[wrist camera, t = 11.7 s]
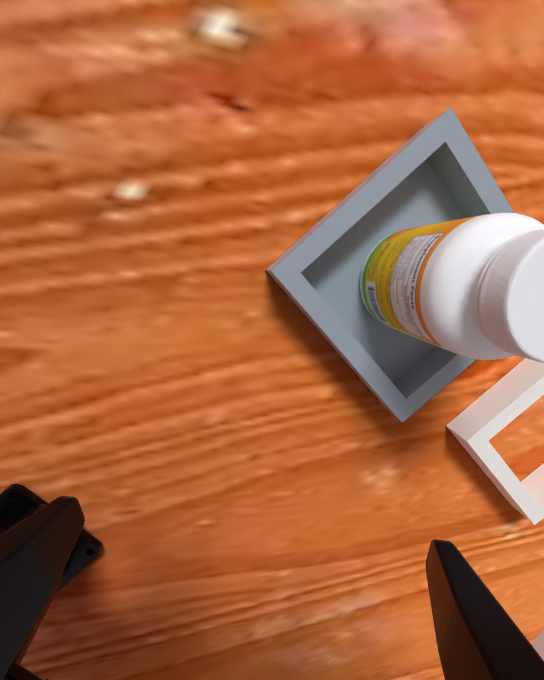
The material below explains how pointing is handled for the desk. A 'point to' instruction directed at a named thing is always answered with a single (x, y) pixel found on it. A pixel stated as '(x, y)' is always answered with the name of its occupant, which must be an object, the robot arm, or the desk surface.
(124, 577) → the desk surface
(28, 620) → the robot arm
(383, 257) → the supplement bottle
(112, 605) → the desk surface
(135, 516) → the desk surface
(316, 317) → the tray
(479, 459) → the holder collar
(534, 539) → the desk surface
